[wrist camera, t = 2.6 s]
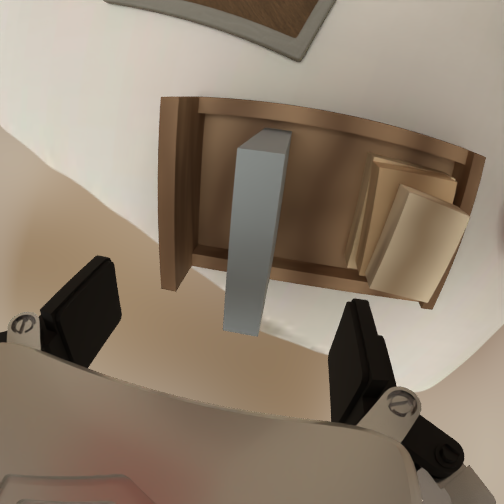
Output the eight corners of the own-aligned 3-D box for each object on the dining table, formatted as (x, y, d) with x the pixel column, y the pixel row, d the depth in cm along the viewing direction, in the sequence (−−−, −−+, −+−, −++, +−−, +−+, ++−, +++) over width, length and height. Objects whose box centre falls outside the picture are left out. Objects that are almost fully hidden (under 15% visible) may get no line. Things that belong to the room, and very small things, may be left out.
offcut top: (457, 206, 18) (470, 217, 16) (420, 287, 21) (427, 303, 20) (400, 183, 18) (409, 192, 16) (364, 273, 22) (369, 288, 20)
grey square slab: (291, 131, 22) (285, 154, 12) (274, 248, 27) (257, 336, 17) (265, 127, 22) (237, 148, 12) (251, 244, 27) (222, 330, 17)
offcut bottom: (444, 172, 21) (455, 179, 19) (415, 266, 25) (422, 279, 23) (367, 151, 22) (374, 156, 20) (344, 254, 26) (347, 267, 24)
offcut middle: (444, 174, 19) (457, 182, 17) (421, 267, 23) (430, 281, 21) (372, 161, 20) (379, 167, 18) (355, 260, 24) (359, 275, 22)
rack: (463, 148, 21) (506, 166, 15) (420, 285, 27) (442, 331, 21) (196, 96, 23) (160, 97, 17) (189, 247, 29) (161, 288, 23)
